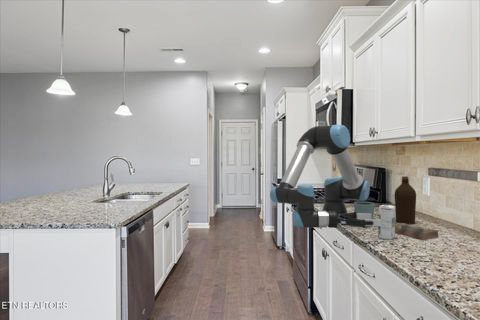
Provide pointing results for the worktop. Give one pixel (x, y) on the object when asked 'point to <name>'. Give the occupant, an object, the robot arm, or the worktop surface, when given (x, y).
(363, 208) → the grey-green tapered bin
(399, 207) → the olive oil
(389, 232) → the syrup box
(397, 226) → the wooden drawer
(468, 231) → the worktop surface
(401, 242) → the worktop surface
